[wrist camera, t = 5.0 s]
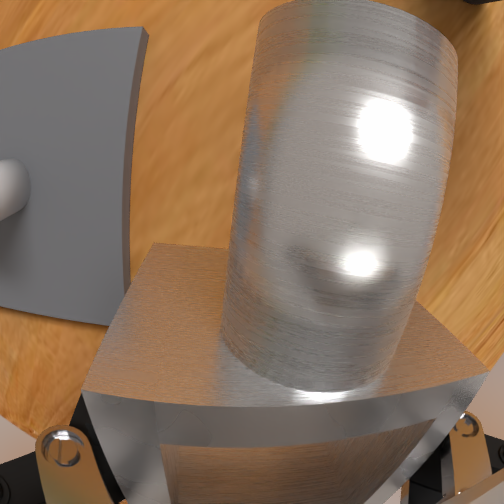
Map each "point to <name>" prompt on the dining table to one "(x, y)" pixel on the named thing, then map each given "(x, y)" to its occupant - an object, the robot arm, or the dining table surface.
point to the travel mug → (479, 1)
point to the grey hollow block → (301, 286)
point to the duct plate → (68, 172)
